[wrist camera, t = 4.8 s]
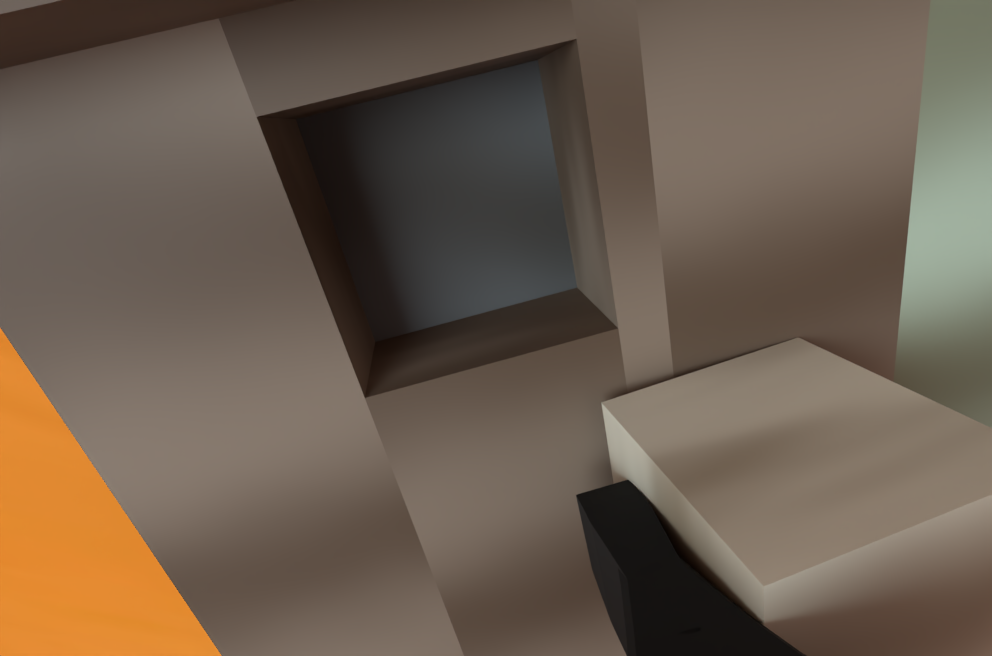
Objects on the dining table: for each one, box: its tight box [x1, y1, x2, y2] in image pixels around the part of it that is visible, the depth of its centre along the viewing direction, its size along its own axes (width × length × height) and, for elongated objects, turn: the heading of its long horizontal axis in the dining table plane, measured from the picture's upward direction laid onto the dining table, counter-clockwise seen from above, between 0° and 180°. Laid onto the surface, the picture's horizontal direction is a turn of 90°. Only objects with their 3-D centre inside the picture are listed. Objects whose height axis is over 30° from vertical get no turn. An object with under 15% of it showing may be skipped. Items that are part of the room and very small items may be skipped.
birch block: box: [601, 337, 992, 656], centre depth 9 cm, size 4×4×4 cm
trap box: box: [0, 0, 992, 656], centre depth 12 cm, size 22×23×6 cm
